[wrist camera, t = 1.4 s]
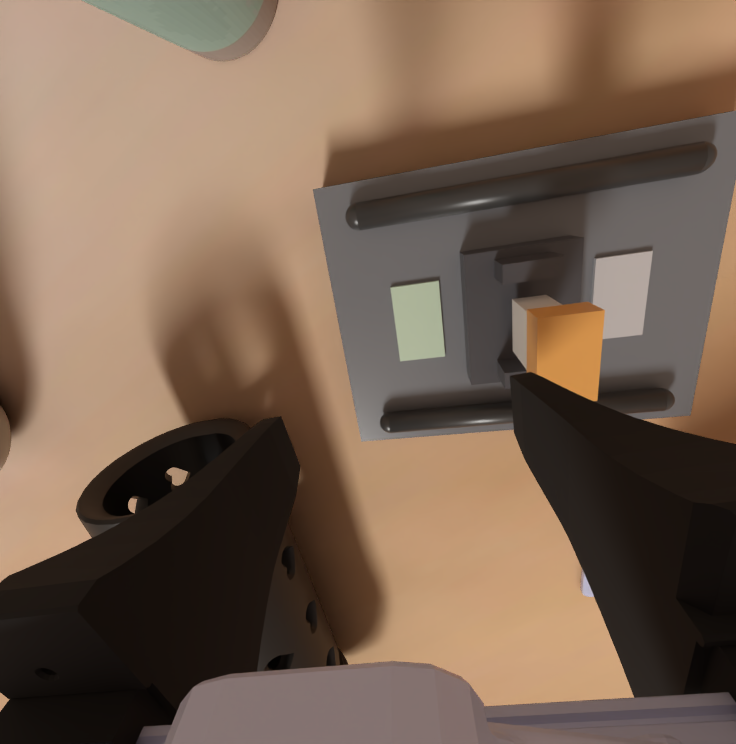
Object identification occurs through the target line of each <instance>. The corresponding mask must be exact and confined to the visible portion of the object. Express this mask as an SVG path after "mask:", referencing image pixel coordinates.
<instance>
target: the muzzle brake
mask: <svg viewBox="0 0 736 744" xmlns="http://www.w3.org/2000/svg"><path fill="white" fill-rule="evenodd" d="M248 430H250V427H249V426H248V425H247V424H245V423H243V422H241V421H239V420H234V419H214V420H208V421H202V422H196V423H192V424H189V425H185V426H182V427H179V428H176V429H174V430H171V431H168V432H166V433H164V434H161V435H159V436H157V437H155V438H153V439H151V440H149V441H147V442H145V443H143V444H141V445H139V446H137V447H136V448H134V449H132V450H130V451H129V452H127V453H126V454H124V455H123V456H121V457H120V458H118V459H117V460H115V461H114V462H112V463H111V464H110V465H109V466H107V467H106V468H105V469H104V470H102V471H101V472H100V473H99V474H98V475H97V476H96V477H95V478H94V479H93V480H92V481H91V482H90V484H89V485H88V486H87V487H86V488H85V490H84V491H83V493H82V495H81V496H80V498H79V500H78V502H77V507H76V512H77V515H78V517H79V519H80V521H81V522H82V524H83V525H84V527H85V528H86V530H87V531H88V533H89V534H90V536H91V537H92V538H93V537H95V536H97V535H99V534H101V533H103V532H105V531H107V530H109V529H110V528H112V527H114V526H116V525H118V524H120V523H121V522H123V521H125V520H126V519H128V518H130V517H131V516H133V515H135V514H137V513H138V512H140V511H142V510H143V509H145V508H147V507H148V506H150V505H152V504H153V503H155V502H157V501H158V500H160V499H161V498H163V497H164V496H166V495H167V494H169V493H170V492H172V491H173V490H175V489H176V488H177V487H179V486H180V485H179V486H175V485H173V484H172V476H170V475H168V474H167V473H166V472H167V470H168V469H170V468H172V467H176V468H179V469H182V470H185V471H188V474H187V477H186V479H185V482H186V481H187V480H188V479H190V478H191V477H192V476H194V475H195V474H196V473H197V472H199V471H200V470H201V469H203V468H204V467H205V466H206V465H208V464H209V463H210V462H211V461H213V460H214V459H215V458H216V457H218V456H219V455H220V454H221V453H222V452H224V451H225V450H226V449H227V448H228V447H230V446H231V445H232V444H233V443H234V442H235V441H237V440H238V439H239V438H240V437H241V436H242V435H244V434H245V433H246V432H247V431H248ZM130 498H134V499H137V503H136V509H135V514H134V513H132V512H130V510H129V509H128V502H129V500H130ZM338 665H348V663H347V660H346V658H345V657H344V655H343V653H342V652H341V650H340V649H339V648H338V647H337V645H336V642H335V640H334V637H333V635H332V632H331V630H330V627H329V625H328V622H327V620H326V617H325V615H324V612H323V610H322V607H321V605H320V602H319V599H318V597H317V594H316V592H315V589H314V587H313V584H312V582H311V579H310V577H309V574H308V572H307V569H306V567H305V564H304V562H303V559H302V557H301V554H300V552H299V549H298V547H297V544H296V542H295V539H294V537H293V534H292V532H291V529H290V527H289V524H288V523H287V527H286V530H285V533H284V536H283V540H282V543H281V546H280V550H279V553H278V556H277V560H276V564H275V568H274V572H273V577H272V582H271V587H270V592H269V597H268V603H267V608H266V614H265V621H264V627H263V633H262V639H261V646H260V653H259V661H258V668H257V672H261V671H274V670H287V669H300V668H313V667H325V666H338Z"/></svg>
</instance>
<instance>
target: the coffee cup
mask: <svg viewBox="0 0 736 744" xmlns="http://www.w3.org/2000/svg"><path fill="white" fill-rule="evenodd" d="M82 1H84V2H86V3H88V4H90V5H93V6H95V7H97V8H99V9H101V10H103V11H105V12H107V13H110V14H112V15H114V16H116V17H118V18H120V19H122V20H124V21H127V22H129V23H131V24H133V25H135V26H137V27H139V28H142V29H144V30H146V31H148V32H150V33H152V34H154V35H156V36H159V37H161V38H163V39H165V40H167V41H169V42H171V43H173V44H176V45H178V46H180V47H182V48H184V49H187V50H189V51H191V52H193V53H195V54H198V55H200V56H202V57H204V58H207V59H211V60H215V61H230V60H234V59H238V58H240V57H242V56H244V55H246V54H248V53H249V52H251V51H252V50H253V49H254V48H255V47H256V46H257V45H258V44H259V43H260V42H261V41H262V39H263V38H264V37H265V35H266V33H267V32H268V30H269V28H270V26H271V23H272V21H273V18H274V15H275V11H276V7H277V2H278V0H82Z"/></svg>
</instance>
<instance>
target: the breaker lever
mask: <svg viewBox="0 0 736 744" xmlns="http://www.w3.org/2000/svg"><path fill="white" fill-rule="evenodd" d="M604 316H605V310H604V309H602V308H600V307H598V306H596V305H594V304H592V303H590V302H582V303H574V304H566V305H562V304H561V303H559V302H557V301H556V300H554V299H552V298H551V297H549V296H547V295H540V296H532V297H525V298H517V299H512V338H513V352H514V353H515V355H516V356H517V358H518V359H519V360H520V362H521V363H522V364H523V366H524V367H525V368H526V370H527V373H528V372H532V373H535V374H537V375H539V376H541V377H544V378H546V379H548V380H550V381H552V382H554V383H556V384H558V385H560V386H562V387H564V388H566V389H568V390H570V391H572V392H574V393H576V394H578V395H580V396H583V397H585V398H587V399H589V400H592V401H597V400H598V388H599V376H600V364H601V352H602V340H603V328H604Z"/></svg>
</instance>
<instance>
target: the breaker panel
mask: <svg viewBox="0 0 736 744" xmlns="http://www.w3.org/2000/svg"><path fill="white" fill-rule="evenodd" d="M735 180H736V111H731V112H725V113H720V114H715V115H709V116H704V117H699V118H693V119H688V120H683V121H677V122H672V123H667V124H661V125H656V126H650V127H645V128H640V129H634V130H629V131H624V132H618V133H613V134H608V135H602V136H597V137H591V138H586V139H581V140H575V141H570V142H565V143H559V144H554V145H549V146H543V147H538V148H533V149H527V150H522V151H516V152H511V153H506V154H500V155H495V156H490V157H484V158H479V159H474V160H468V161H463V162H458V163H452V164H447V165H441V166H436V167H431V168H425V169H420V170H415V171H409V172H404V173H399V174H393V175H388V176H383V177H377V178H372V179H366V180H361V181H356V182H350V183H345V184H340V185H334V186H329V187H324V188H318V189H313V193H314V198H315V203H316V208H317V214H318V219H319V224H320V229H321V234H322V240H323V245H324V250H325V255H326V260H327V265H328V271H329V276H330V281H331V286H332V291H333V297H334V302H335V307H336V312H337V317H338V323H339V328H340V333H341V338H342V343H343V348H344V354H345V359H346V364H347V369H348V374H349V380H350V385H351V390H352V395H353V400H354V406H355V411H356V416H357V421H358V426H359V431H360V437H361V441H374V440H386V439H399V438H412V437H424V436H437V435H450V434H462V433H475V432H488V431H500V430H513V429H514V425H513V413H512V400H511V387H510V376H511V375H516V374H522V373H527V370H526V368H525V367H524V366H523V364H522V363H521V362H520V360H519V359H518V358H517V356H516V355H515V353H514V352H513V338H512V299H517V298H525V297H532V296H540V295H547V296H549V297H551V298H552V299H554V300H556V301H557V302H559V303H561V304H562V305H566V304H574V303H582V302H590V303H592V304H594V305H596V306H598V307H600V308H602V309H604V310H605V316H604V328H603V340H602V352H601V364H600V376H599V388H598V400H597V401H594V402H596V403H599V404H601V405H603V406H606V407H608V408H611V409H613V410H616V411H618V412H621V413H624V414H626V415H629V416H632V417H635V418H638V419H652V418H665V417H677V416H690V415H691V410H692V404H693V399H694V394H695V389H696V383H697V378H698V373H699V368H700V363H701V357H702V352H703V347H704V342H705V337H706V331H707V326H708V321H709V316H710V310H711V305H712V300H713V295H714V290H715V284H716V279H717V274H718V269H719V264H720V258H721V253H722V248H723V243H724V237H725V232H726V227H727V222H728V217H729V211H730V206H731V201H732V196H733V191H734V185H735Z"/></svg>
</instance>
